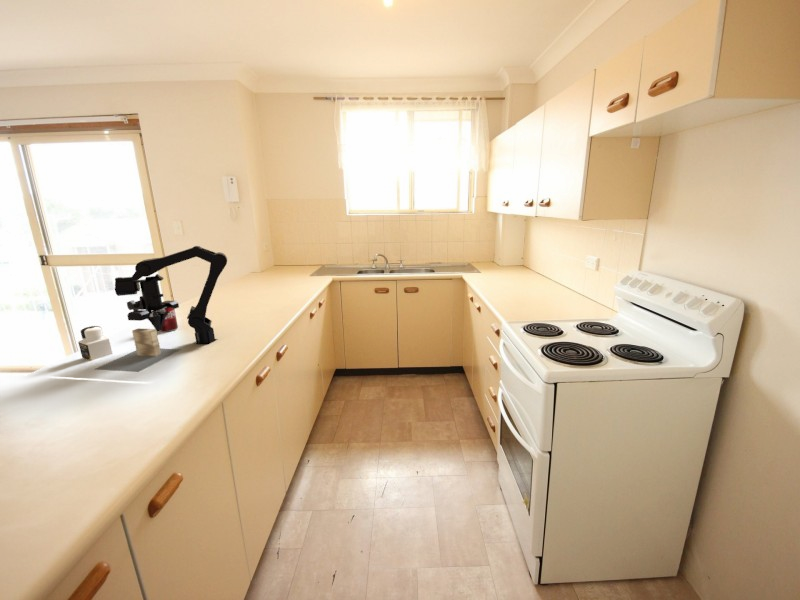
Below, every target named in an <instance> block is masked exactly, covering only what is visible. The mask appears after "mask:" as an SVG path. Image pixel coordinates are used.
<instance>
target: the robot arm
mask: <svg viewBox="0 0 800 600" xmlns="http://www.w3.org/2000/svg"><path fill="white" fill-rule="evenodd" d="M195 258H200V259H201V260H204V261H206V262H208V263H210V265H209V270H208V271H209V272H208V275H207V278H206V281H205V283H204V286H203V289H202V290H201V291H202V292H201V294H200V296H199V299H198V302H197V304H196V305H195V306H193V305H192V306H191V307H190V309H189V313H188V314H187V317H186V319H187V325H188V326H189V327H191V328H193V329H194V339H195V343H194V345H204V346H206V345H207V346H208V345H210V344H212V343H214V342H216V341H218V339H217V338H215V337H216V336H215V331H214V327H212V323H213V322H212V321H213V320H211V319H210V318H208V317H206V316H207V310H208V305H209V302H210V300H211V298H212V294H213V292H214V289H215V287H216V284H217V282H218V278H219V277H220V275H221V274H222V272H223V270H224V269H225V267H226V266H227V263H228V257H227V255H226V254H225V253H223V252H215V251H213V250H209V249H206V248H203V247H201V246H200V245H194V246H193V247H191V248H188V249H185V250H181V251H177V252H175V253H171V254H169V255H165V256H163V257H155V258H147V259H143V260H142V261H139V262H138V263H136V265H135V272H134V273H133V275H132V276H127V277H120V276H119V277H115V279H114V281H115V283H114V290H115V291H114V292H115V294H116V295H117V296H118V297H119V296H129V295H130V296H131V295H137V294H138V292H141V295H140V296H139V300H137V301H135V300H130V301H126V306H127V308H128V310H129V312H128V313H127V315H126V316H127V321H140V322H141V321H144V320H148V321H149V323H151V325H152V326H153V329H156V331H157V332H161V331H160V330H161V328H162V325H163V323H164V320H165V318H166V315H167V314H168V313H169V312H166V311H165V309H166V308H169V307H171V308H172V309H178V308H180V305H179V302H177V300H165V301H162V298H163V297H164V293H161V291H160V286H159V285H160V284H159V281H163V280H164V277H163V276H162V275H160V274H159V273H157V272H159V271H161V270H163V269H164V268H166V267H170V266H173V265H175V264H178V263H181V262H184V261H188V260H190V259H195ZM155 273H156V274H155ZM153 274H155V275H153ZM151 275H153V276H151ZM143 277H145V279H142V278H143ZM132 310H133V311H132Z"/></svg>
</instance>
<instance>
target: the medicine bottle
mask: <svg viewBox="0 0 800 600" xmlns="http://www.w3.org/2000/svg"><path fill="white" fill-rule="evenodd" d="M102 329H103V328H102V327H101V326H100V325H92V326H87V327H83V328H82V329H80V334H81V339H82V340H78V346H79V347H78V348H79V351H80V354H81V358H82V359H83V358H84V359H83V360H86V359H87V360H88V361H94V360H97V359H100V358H101V359H102V358H104V357H107V356H110V355H113V350H112V345H111V342H110V338H109V337H107V336H104V334H103V330H102ZM87 360H86V361H87Z"/></svg>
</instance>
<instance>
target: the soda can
mask: <svg viewBox="0 0 800 600" xmlns="http://www.w3.org/2000/svg"><path fill="white" fill-rule="evenodd" d="M165 311H166V312H169V313H168V314H167V315H166V318H165V320H164V323H163V325H162V328H161V330H160V331H159V332H162V333H169V332H173V330H174V331H175V330H177V329H178V328H179V325H178V320H177V315H176V310H175V309H172V308H171V307H169V308H166V309H165ZM168 331H169V332H168Z"/></svg>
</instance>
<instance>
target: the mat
mask: <svg viewBox="0 0 800 600" xmlns="http://www.w3.org/2000/svg"><path fill="white" fill-rule="evenodd" d="M160 350H161V354H159V355H157V356H142V355H137V350H136V349H135V350H134V351H132V352H130V353H127V354H125V355H123V356H120V357H117V358H116V359H114V360H111V361H109V362H107V363H105V364H102V365H101V366H98V367H96V368H94V370H97V371H98V370H99V371H114V372H115V371H118V372H119V371H120V372H121V371H122V372H133V373H134V372H135V373H136V372H137V373H139V372H141V371H143V370H145V369H147V368H149V367H151V366H153V365H154V364H156V363H158V362H160V361H162V360H164V359H166V358H168V357H170V356H173V355H174V354H176V353H178V352H179V351H182V349H181V348H162V347H160Z"/></svg>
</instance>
